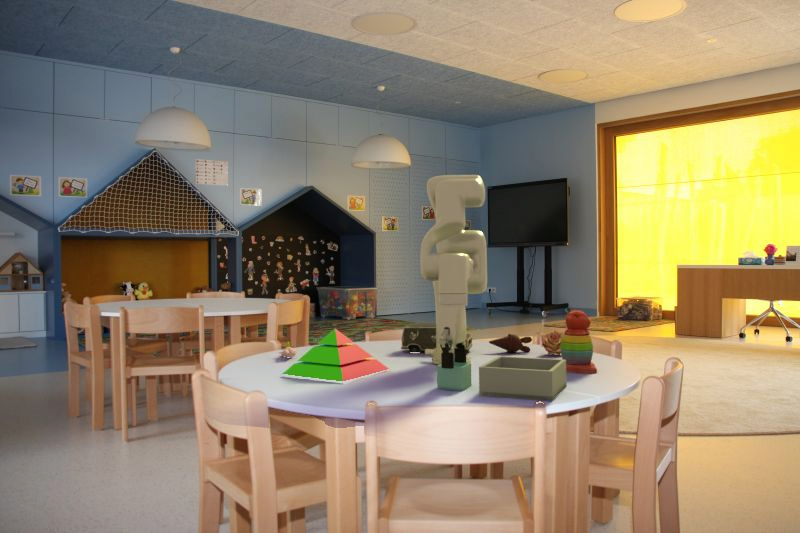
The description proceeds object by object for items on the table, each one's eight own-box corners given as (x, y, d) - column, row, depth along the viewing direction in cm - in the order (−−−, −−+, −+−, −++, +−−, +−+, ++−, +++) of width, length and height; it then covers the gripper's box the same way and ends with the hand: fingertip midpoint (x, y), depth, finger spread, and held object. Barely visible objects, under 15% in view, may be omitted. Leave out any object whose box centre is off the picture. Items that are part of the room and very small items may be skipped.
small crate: (437, 389, 169) (436, 366, 169) (446, 383, 175) (446, 361, 175) (462, 390, 166) (462, 367, 166) (471, 385, 172) (471, 363, 172)
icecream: (491, 336, 223) (534, 339, 224) (488, 328, 230) (530, 331, 231) (489, 355, 225) (532, 358, 226) (486, 347, 232) (527, 349, 233)
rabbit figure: (278, 359, 231) (280, 358, 217) (278, 342, 232) (280, 340, 217) (296, 358, 232) (299, 357, 218) (295, 341, 233) (299, 340, 219)
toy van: (407, 349, 241) (407, 322, 241) (473, 350, 235) (473, 323, 234) (400, 353, 231) (399, 325, 231) (469, 355, 224) (468, 326, 224)
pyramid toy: (329, 366, 211) (328, 322, 211) (393, 372, 197) (392, 325, 197) (275, 379, 190) (274, 330, 189) (344, 387, 176) (342, 335, 176)
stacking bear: (597, 373, 186) (597, 311, 186) (561, 373, 188) (560, 311, 188) (594, 367, 197) (593, 308, 196) (560, 366, 199) (559, 308, 198)
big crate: (479, 395, 160) (478, 367, 160) (499, 381, 177) (498, 356, 177) (552, 401, 153) (552, 371, 153) (566, 386, 169) (566, 359, 169)
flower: (536, 347, 228) (536, 330, 223) (561, 341, 228) (562, 324, 224) (547, 366, 220) (547, 349, 215) (573, 360, 221) (573, 343, 216)
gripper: (451, 298, 179) (452, 360, 179) (427, 301, 164) (428, 369, 164) (477, 298, 176) (478, 361, 176) (455, 302, 161) (456, 371, 160)
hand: (454, 365), depth 170 cm, fingers open, 9 cm apart
